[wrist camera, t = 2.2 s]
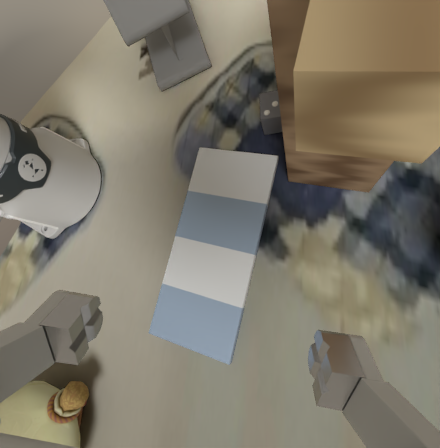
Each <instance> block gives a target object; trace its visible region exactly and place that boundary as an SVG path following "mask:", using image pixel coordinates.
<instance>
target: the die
mask: <svg viewBox="0 0 440 448" xmlns="http://www.w3.org/2000/svg"><path fill="white" fill-rule="evenodd" d="M260 120H261V124H262V128H263V132H264V135H268V134H274V133H281V132H283V131H282V122H281V114H280V105H279V97H278V90H275V91H270V92H265V93H260Z"/></svg>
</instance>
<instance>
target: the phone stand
mask: <svg viewBox="0 0 440 448" xmlns="http://www.w3.org/2000/svg"><path fill="white" fill-rule="evenodd" d="M104 2H105V4H106V6H107V8H108V10H109V12H110V14H111V16H112V18H113V20H114V22H115V24H116V26H117V28H118V30H119V32H120V34H121V36H122V38H123V40H124V41H125V43H126V44H127V45H128V46H130V45H132V44H134V43H135V42H137V41H139V40H141V39H142V38H144V37H145V39H146V43H147V47H148V50H149V54H150V58H151V62H152V66H153V70H154V73H155V77H156V81H157V84H158V87H159V88H160V90H161V91H164V90H166V89H168V88H170V87H172V86H174V85H176V84H178V83H180V82H182V81H184V80H186V79H188V78H190V77H192V76H194V75H196V74H198V73H200V72H202V71H204V70H206V69H208V68H210V67H212V66H211V63H210V60H209V58H208V55H207V53H206V50H205V47H204V44H203V41H202V38H201V35H200V33H199V30H198V27H197V24H196V21H195V18H194V15H193V12H192V9H191V6H190V3H189V0H104Z"/></svg>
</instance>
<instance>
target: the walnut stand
mask: <svg viewBox="0 0 440 448" xmlns="http://www.w3.org/2000/svg"><path fill="white" fill-rule="evenodd" d="M309 2H310V0H267V3H268V12H269V20H270V29H271V37H272V46H273V54H274V63H275V71H276V80H277V88H278V97H279V105H280V114H281V122H282V131H283V139H284V148H285V156H286V165H287V173H288V181H290V182H297V183H304V184H312V185H319V186H326V187H333V188H341V189H348V190H355V191H362V192H369V191H370V190H371V189H372V188H373V186H374V185H375V184H376V183H377V181H378V180H379V179H380V178H381V176H382V175H383V174H384V173H385V171H386V170H387V169H388V168H389V166H390V165H391V164H392V163H393V161H392V160H382V159H372V158H362V157H352V156H342V155H332V154H322V153H312V152H302V151H296V139H295V107H294V76H293V71H294V66H295V62H296V58H297V54H298V49H299V45H300V41H301V36H302V32H303V28H304V24H305V19H306V15H307V11H308V7H309Z"/></svg>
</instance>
